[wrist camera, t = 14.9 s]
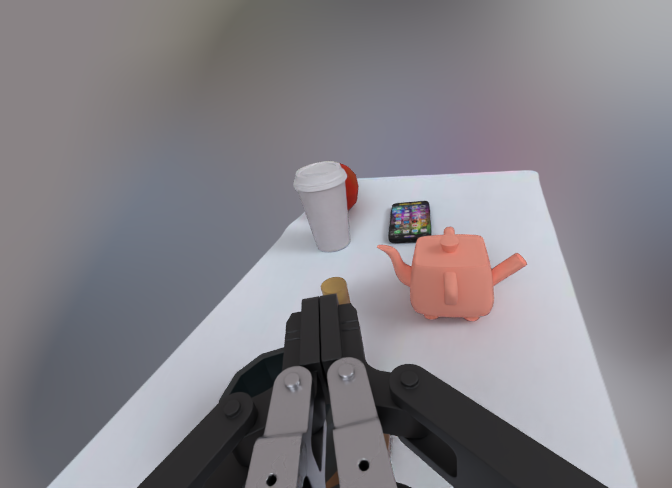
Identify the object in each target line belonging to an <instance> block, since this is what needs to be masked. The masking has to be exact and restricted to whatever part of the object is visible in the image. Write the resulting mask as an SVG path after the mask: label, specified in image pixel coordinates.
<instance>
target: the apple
mask: <svg viewBox="0 0 672 488" xmlns="http://www.w3.org/2000/svg"><path fill="white" fill-rule="evenodd" d="M339 164H340V165H341V167H342V168H343V169H344V170H345V172H346V174H347V178H346V180H345V187H346V199H347V211H348V210H349V209H350V208H351V207H352V206H353V205H354V204H355V203H356V201H357V196H358V182H357V178H356V175H355V174H354V172H353V171H352V170H351V169H350V168H349V167H347V166H345V165H343V164H341V163H339Z"/></svg>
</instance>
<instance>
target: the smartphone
mask: <svg viewBox="0 0 672 488" xmlns="http://www.w3.org/2000/svg"><path fill="white" fill-rule="evenodd" d="M424 236H431V223H430V209H429V203H428V201H417V202H406V203H396V204H393V205H392V210H391V218H390V226H389V241H390V242H391V243H405V242H417V239H418V238H420V237H424Z"/></svg>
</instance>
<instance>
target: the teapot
mask: <svg viewBox="0 0 672 488" xmlns="http://www.w3.org/2000/svg"><path fill="white" fill-rule="evenodd" d="M377 248H379V249H381V250H382V251H384V252H386V253H387V254H388V255H389V257H390V258H391V260H392V263H393V266H394V270H395V272H396V275H397V277H398V278H399V280H400V281H401V282H402V283H404V284H405V285H407V286H409V287H410V300H411V304H412V306H413V308H414V310H415V311H416V312H417V313H420V314H424V316H425V317H426V318H427V319H436V318H438V317H439V316H440V317H464V319H466V320H468V321H476V320H478V319H479V316H485V315H488V314H489V312H490V311H491V309H492V307H493V303H494V292H493V286H494V285H496V284H497V283H499V282H501V281H502V280H504V279H505V278H507V277H508V276H510V275H512V274H513V273H515V272H517V271H518V270H520V269H521V268H523V267H525V266H526V265H527V263H526V261H525V259H524V258H523V257H522V256H521V255H520V254H518V253H515V254H514V255H512V256H511V257H509V258H508V259H506V260H505V261H503V262H502V263H500V264H499V265H497V266H496V267H494V268H493V269H491V266H490V262H489V257H488V254H487V250H486V247H485V243H484V240H483V238H482V237H481V236H478V235H465V234H455V231H454V228H452V227H446V228H445V229H444V235H433V236H424V237H420V238H418V239H417V242H416V246H415V251H414V256H413V261H412V267H411V266H409V265H407V264H405V263H404V262H403V261H402V259H401V257H400V254H399V253H398V251H397V250H396V249H395V248H393V247H391V246H388V245H378V246H377Z"/></svg>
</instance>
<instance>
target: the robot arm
mask: <svg viewBox="0 0 672 488" xmlns="http://www.w3.org/2000/svg"><path fill="white" fill-rule="evenodd" d="M326 404H331V408H332V415H333V423H334V428H333V438H334V446H335V453H336V461H337V469H338V476H339V484H338V485H335V486H333V487H331V488H411V487H409V486H407V485H404V484H401V483H398V482H396V481H395V477H394V473H393V470H392V466H391V462H390V458H389V454H388V450H387V447H386V443H385V439H384V435H383V433H384V434H389V435H395V436H398V438H399V439H400V441H401V442H402V443H404V444H405V445H406V446H407V447H408V448H409V449H410V450H412V451H413V452H414V453H415V454H416V455H417V456H419V457H420V458H421V459H422V460H423V461H424V462H425V463H427V464H428V465H429V466H430V467H431V468H432V469H433V470H435V471H436V472H437V473H438V474H439V475H440V476H442V477H443V478H444V479H445V480H446V481H447V482H448V483H450V484H451V485H452V486H453V487H454V488H608V487H607V486H605V485H604V484H602V483H600V482H599V481H597V480H596V479H594V478H593V477H591V476H590V475H588V474H586V473H585V472H583V471H582V470H580V469H579V468H577V467H576V466H574V465H572V464H571V463H569V462H568V461H566V460H565V459H563V458H562V457H560V456H558V455H557V454H555V453H554V452H552V451H551V450H549V449H548V448H546V447H544V446H543V445H541V444H540V443H538V442H537V441H535V440H534V439H532V438H530V437H529V436H527V435H526V434H524V433H523V432H521V431H520V430H518V429H517V428H515V427H513V426H512V425H510V424H509V423H507V422H506V421H504V420H503V419H501V418H499V417H498V416H496V415H495V414H493V413H492V412H490V411H489V410H487V409H485V408H484V407H482V406H481V405H479V404H478V403H476V402H475V401H473V400H471V399H470V398H468V397H467V396H465V395H464V394H462V393H461V392H459V391H457V390H456V389H454V388H453V387H451V386H450V385H448V384H447V383H445V382H443V381H442V380H440V379H439V378H437V377H436V376H434V375H433V374H431V373H430V372H428V371H426V370H425V369H423V368H422V367H420V366H417V365H414V364H404V365H401V366H398V367H396V368H395V369H394V370H393V371H392V372H384V371H379V370H376V369H374V368H372V367H371V366H370V365H368V363H367V362H366V360H365V354H364V348H363V342H362V336H361V331H360V326H359V321H358V316H357V311H356V309H355V308H354V307H353V306H352V304H351V303H346V304H341V305H339V301H338V297H337V293H334V294H329V295H323V296H320V298H319V296H318V297H313V298H307V299H302V309H301V312H297V313H292V314H291V316H290V317H289V319H288V321H287V323H286V334H285V344H284V355H283V366H282V372H281V373H280V374H279V375H278V376H277V378H276V380H275V382H274V386H272V387H271V388H270V389H268V390H267V391H265V392H263V393H261V394H259V395H257V396H254V397H252V398H251V396H250V395H248V394H247V393H244V392H236V393H232V394H230V395H228V396H226V397H225V398H224V399H222V400H221V401H220V402H219V403H218V404H217V405H216V406H215V407H214V408H213V410H212V411H211V412H210V413H209V414H208V415H207V416H206V417H205V418H204V419H203V420H202V421H201V422H200V423H199V424H198V425H197V426H196V427H195V428H194V429H193V430H192V431H191V432H190V433H189V434H188V435H187V436H186V437H185V438H184V440H183V441H182V442H181V443H180V444H179V445H178V446H177V447H176V448H175V449H174V450H173V451H172V452H171V453H170V454H169V455H168V456H167V457H166V458H165V459H164V460H163V461H162V462H161V463H160V464H159V465H158V466H157V467H156V468H155V469H154V471H153V472H152V473H151V474H150V475H149V476H148V477H147V478H146V479H145V480H144V481H143V482H142V483H141V484H140V485H139V486H138V487H137V488H326V485H325V456H326V430H327V423H326V419H325V417H326V413H325V405H326Z"/></svg>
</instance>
